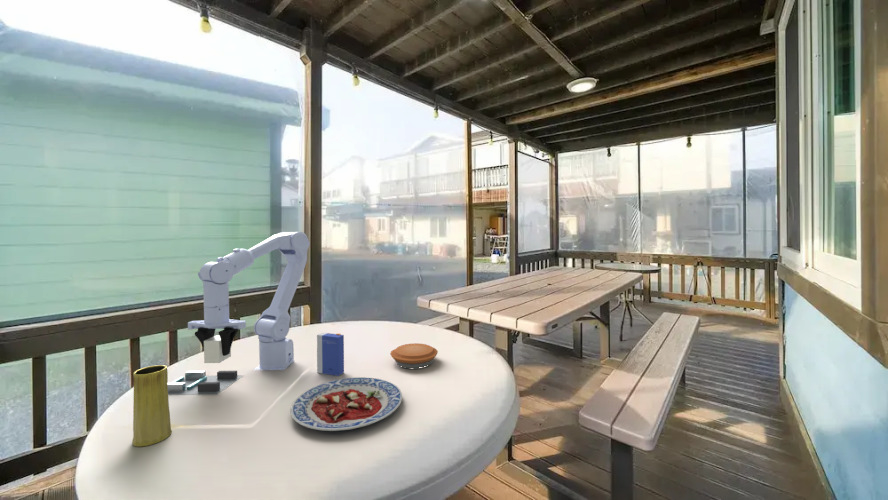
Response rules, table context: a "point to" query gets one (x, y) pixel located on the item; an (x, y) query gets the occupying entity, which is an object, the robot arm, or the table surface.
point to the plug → (214, 350)
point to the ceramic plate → (346, 404)
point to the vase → (151, 406)
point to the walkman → (330, 353)
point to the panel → (194, 391)
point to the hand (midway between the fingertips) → (217, 354)
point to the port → (189, 375)
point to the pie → (414, 355)
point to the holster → (216, 385)
